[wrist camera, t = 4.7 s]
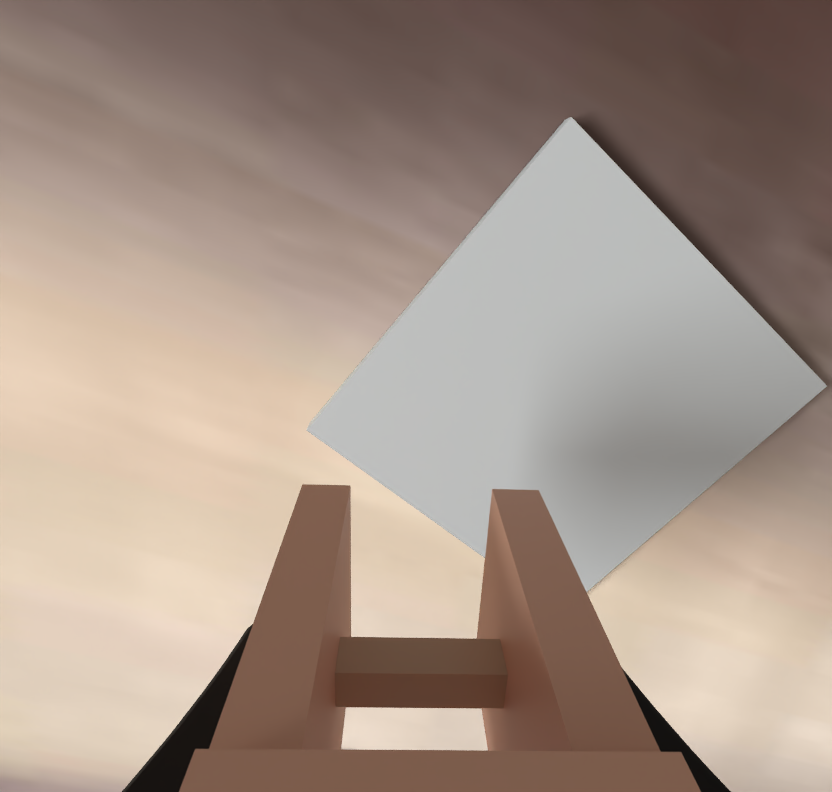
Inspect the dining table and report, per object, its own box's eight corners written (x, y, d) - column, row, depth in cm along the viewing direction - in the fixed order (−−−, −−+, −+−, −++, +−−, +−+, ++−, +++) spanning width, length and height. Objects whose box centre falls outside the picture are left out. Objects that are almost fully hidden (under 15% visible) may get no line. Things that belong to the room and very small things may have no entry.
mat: (813, 379, 18) (827, 386, 17) (557, 601, 21) (561, 613, 20) (565, 119, 15) (571, 116, 14) (309, 422, 18) (306, 430, 17)
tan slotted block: (513, 673, 13) (630, 1178, 6) (309, 672, 13) (208, 1188, 6) (540, 472, 11) (752, 892, 4) (301, 467, 11) (140, 894, 4)
